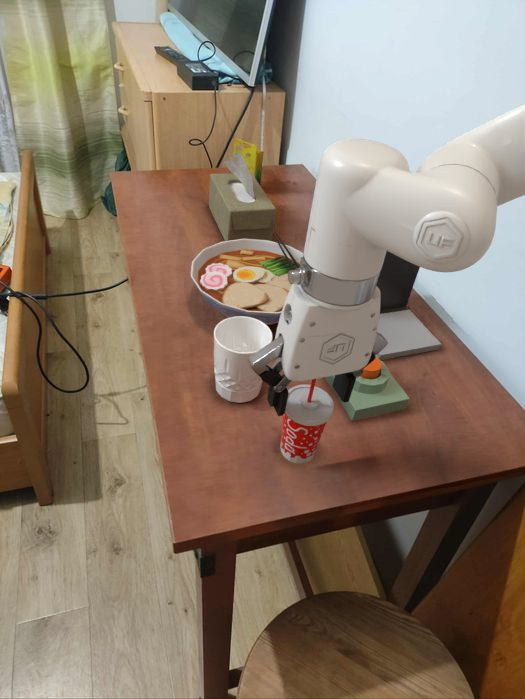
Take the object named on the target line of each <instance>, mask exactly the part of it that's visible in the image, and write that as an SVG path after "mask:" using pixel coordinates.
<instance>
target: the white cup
mask: <svg viewBox="0 0 525 699" xmlns="http://www.w3.org/2000/svg"><path fill="white" fill-rule="evenodd" d="M273 339H274V338H273V332H272V329H270V327H269V326H268V325H266V324H264V323H263V322H261V321H259V320H257V319H254V318H251V317H245V316H236V317H230V318H228V317H227V318H225V319H222V320H221V321H220V322H218V323H217V324H216V325H215V327H214V329H213V371H214V372H213V373H214V384H215V385H214V386H215V391H216V393H217V394H218V395H219V396H220V398H223V399H225V400H226V401H228V402H230V403H231V402H232V403H237V404H238V403H240V404H241V403H247V402H251V401H252V400H254V399H255V398H257V397H258V396H259V394H260V393H261V390H262V387H263V383H264V381H262V379H261V378H260V377H259V376H258V375H257V374H256V373H255V372H254V371H253V369H252V368H251V366H250V364H249V362H248V358H249V357H250V356H252V355H253V354H254V353H256V352H257V351H259V350H260V349H262V348H263V347H265V346H266V345H268V344H269V343H271V342H272V341H273Z"/></svg>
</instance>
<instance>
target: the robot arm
mask: <svg viewBox="0 0 525 699" xmlns="http://www.w3.org/2000/svg"><path fill="white" fill-rule="evenodd" d="M524 196H525V103H524V104H521V105H519V106H516V108H513V109H511V110H508V111H507V112H504V113H503V114H501V115H499V116H497V117H494V118H493V119H491V120H488V121H486V122H485V123H482V124H481V125H479V126H477V127H475V128H473V129H471V130H469V131H466V132H464V133H463V134H461V135H458V136H457V137H455V138H453V139H451V140H450V141H448V142H446V143H444V144H443V145H441V146H440V147H438V148H436V149H435V150H433V151H432V152H431V153H430V154H429V155H428V156H426V157H425V159H424V160H423V161H422V162H421V163H420V164H419V166H418V167H417V169H416V171H415V172H412V171H411V169H410V167H409V163H408V160H407V158H406V157H405V155H404V154H403V153H402V152H401V151H399V149H396V148H395V147H392V146H390V145H388V144H387V143H386V144H385V143H383V142H380V141H376V140H371V139H364V138H344V139H340V140H336V141H335V142H333V143H331V144H329V145H328V146H327V147H326V148H325V149H324V151H323V152H322V154H321V157H320V161H319V164H318V169H317V174H316V181H315V186H314V192H313V198H312V201H311V202H312V203H311V207H310V215H309V220H308V225H307V230H306V236H305V242H304V247H303V252H302V253H303V257H301V261H300V267H299V268H296V269H295V270H290V271H289V272H288V280H289V283H290V284H292V286H291V288H290V290H289V293H288V295H287V298H286V300H285V303H284V306H283V309H282V312H281V316H280V319H279V323H277V327H276V332H275V335H274V336H275V337H274V340H272V342H271V343H269V344H268V345H266V346H265V347H263V348H262V349H260V350H259V351H257V352H256V353H254V354H253V355H252V356H250V357H249V358H248V362H249V364H250V366H251V368H252V369H253V371H254V372H255V373H256V374H257V375H258V376H259V377H260V378H261V379H262V381H263V383H265V384H266V385H268V389H267V396H266V399H267V403H268V405H269V406H270V407H271V408H273V409H274V410H275V412H276V415H277V416H278V417H283V416H284V414H285V409H286V404H287V399H288V394H289V393H288V390H289V389H288V388H287V387H288V386H289V385H290V383H291V382H304V381H310V380H311V381H312V379H316V380H317V379H323V378H325V377H328V376H333V375H335V377H334V381H333V388H334V389H335V391H336V393H337V394H338V396H339V397H340V399H341V400H342V402H349V399H350V396H351V393H352V390H353V387H354V384H355V381H356V378H357V377H360V376H361V375H362V374H363V372H364V371H363V369H364V368H365V367H366V366H367V365H369V364H370V363H371V362H372V361H374V359H375V358H376V356H375V355H376V354H379V353H380V352H381V351H382V350H383V349H384V348H385V347H386V346H387V344H388V342H387V340H386V339H385V338H384V337H383V335H382V334H380V333H378V332H377V329H378V323H379V316H380V300H381V292H380V290H379V288H378V287H377V286H376V285H377V282H378V278H379V275H380V271H381V269H382V265H383V262H384V259H385V255H386V252H387V251H388V252H390V253H393V254H394V255H396V256H398V257H400V258H402V259H404V260H406V261H408V262H410V263H412V264H415V265H417V266H419V267H420V268H422V269H425V270H429V271H432V272H438V273H455V272H459V271H464V270H466V269H468V268H470V267H472V266H473V265H475V264H476V263H477V262H479V261H480V260H481V259H482V258H483V257H484V256H485V255H486V253H487V252H488V250H489V249H490V247H491V246H492V242H493V241H494V240H493V239H494V237H495V232H496V227H497V214H498V207H499V206H502V205H504V204H506V203H508V202H511V201H513V200H516V199H518V198H521V197H524ZM273 361H274V362H273ZM271 362H273V363H272V365H270V366H269V365H268V364H270V363H271ZM281 372H283V373H282V375H281Z"/></svg>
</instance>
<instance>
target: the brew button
mask: <svg viewBox="0 0 525 699" xmlns="http://www.w3.org/2000/svg"><path fill="white" fill-rule="evenodd" d="M381 361H382V360H381ZM381 361H380V360H379V359H378V358H377V357H376V358H375V359H374V361H372V362H371V363H370V364H369V365H367V366H366V367H365V368H364V369H363V371H364V372H363V374H362V375H361V377H362V378H365V379H375V378H377V377H378V375H379V373H380V370H381V367H382V364H381Z"/></svg>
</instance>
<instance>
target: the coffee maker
mask: <svg viewBox="0 0 525 699" xmlns="http://www.w3.org/2000/svg"><path fill="white" fill-rule="evenodd" d="M420 269H421V267H419V266H417V265H415V264H412V263H410V262H408V261H406V260H404V259H402V258H400V257H398V256H396V255H394V254H393V253H390V252H388V251H387V252H386V255H385V259H384V262H383V265H382V269H381V271H380V275H379V278H378V282H377V285H376V286H377V287H378V288H379V290H380V292H381V300H380V316H379V323H378V329H377V332H378V333H380V334H382V335H383V337H384V338H385V339H386V340H387V342H388V344H387V346H386V347H385V348H384V349H383V350H382V351H381V352H380V353H379V354H376V356H377V357H378V358H379V359H380V360H381V361H383V360H388V359H389V360H390V359H393V358H399V357H405V356H410V355H415V354H420V353H426V352H432V351H437V350H440V349H441V346H442V343H441V342H440V341H439V340H438V339H437V337H435V335H434V334H433V333H432V332H431V331H430V330H429V329H428V328H427V327H426V326H425V325H424V323H423V322H422V321H420V319H418V317H417V316H416V315H415V314H414V313H413V312H412V311H411V310H410V309H409V307H407V305H408V302H409V300H410V297H411V294H412V292H413V287H414V286H415V282H416V279H417V277H418V274H419V271H420Z"/></svg>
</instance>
